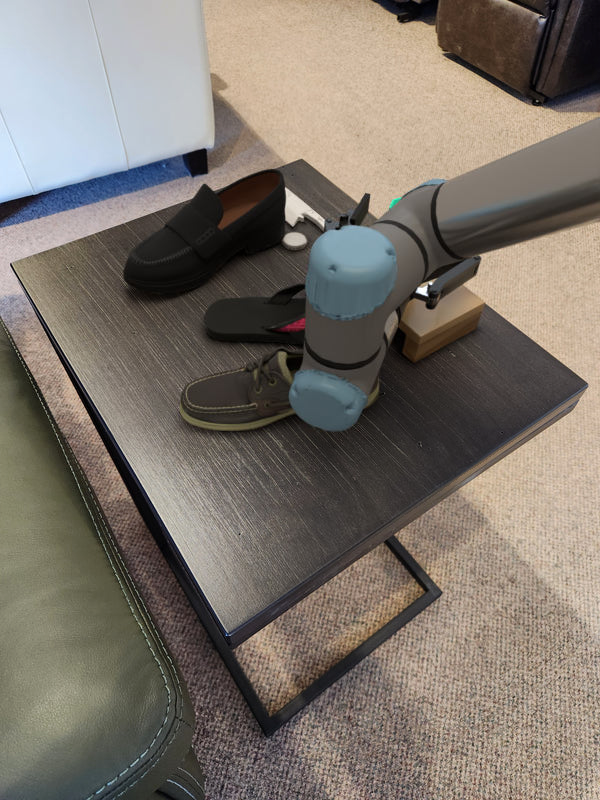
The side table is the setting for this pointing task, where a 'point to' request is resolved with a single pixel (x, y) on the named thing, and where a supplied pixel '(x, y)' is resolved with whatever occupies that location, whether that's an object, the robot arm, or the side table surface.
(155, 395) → the side table surface
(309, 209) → the white plastic blade
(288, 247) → the white ridged disc
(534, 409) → the side table surface
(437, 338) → the oak shelf
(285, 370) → the boat shoe
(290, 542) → the side table surface
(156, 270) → the loafer
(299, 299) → the sandal
